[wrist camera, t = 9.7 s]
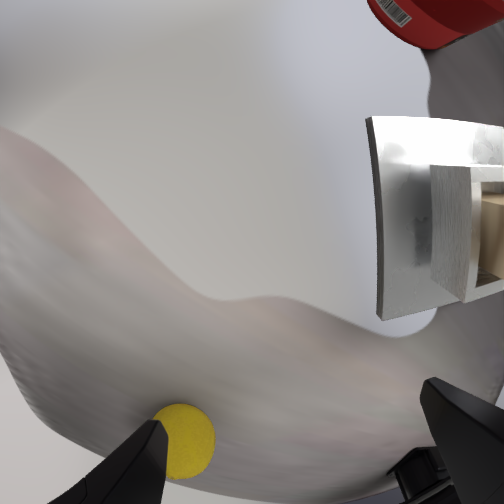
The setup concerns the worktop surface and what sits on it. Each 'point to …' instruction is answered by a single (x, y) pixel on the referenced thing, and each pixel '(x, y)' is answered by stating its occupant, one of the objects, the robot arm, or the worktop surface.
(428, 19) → the canned food
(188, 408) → the lemon
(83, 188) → the worktop surface
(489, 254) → the rail end
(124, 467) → the robot arm
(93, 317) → the worktop surface
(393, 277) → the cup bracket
